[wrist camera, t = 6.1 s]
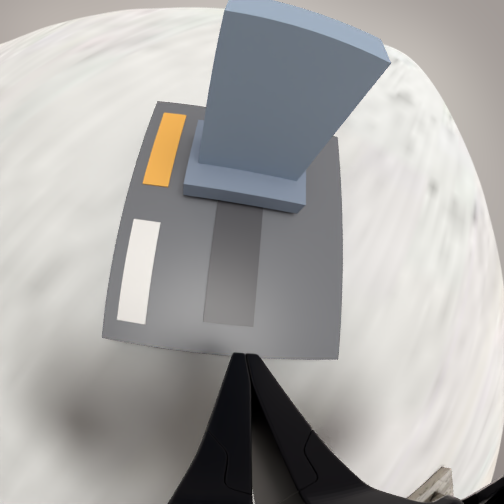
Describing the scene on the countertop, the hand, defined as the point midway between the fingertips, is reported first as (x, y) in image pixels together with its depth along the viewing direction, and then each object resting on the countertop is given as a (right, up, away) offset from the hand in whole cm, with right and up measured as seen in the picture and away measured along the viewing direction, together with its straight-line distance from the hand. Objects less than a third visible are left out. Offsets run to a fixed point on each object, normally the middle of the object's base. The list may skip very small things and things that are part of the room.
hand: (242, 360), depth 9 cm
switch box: (-1, +5, +8) cm, 9 cm away
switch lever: (0, +8, +6) cm, 10 cm away
